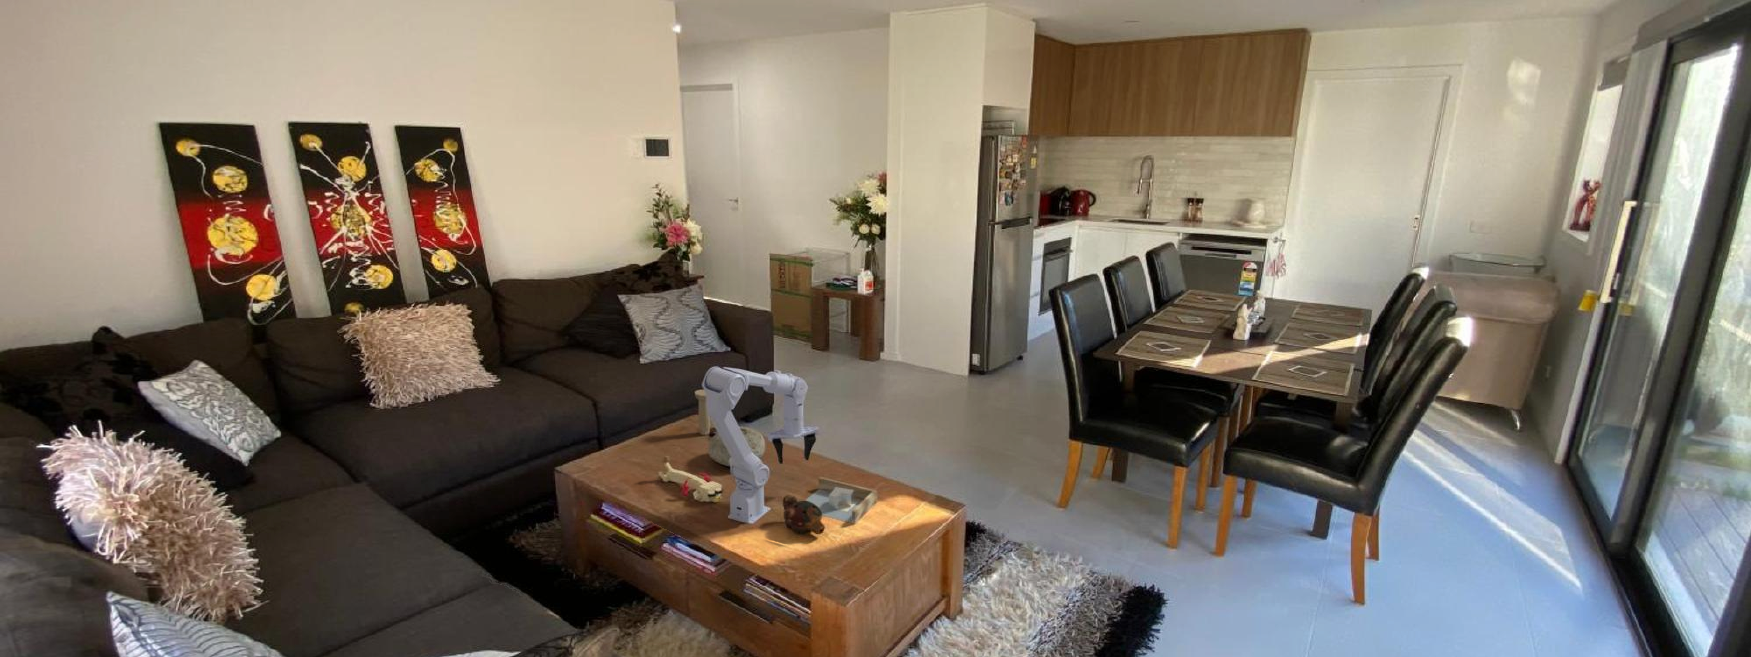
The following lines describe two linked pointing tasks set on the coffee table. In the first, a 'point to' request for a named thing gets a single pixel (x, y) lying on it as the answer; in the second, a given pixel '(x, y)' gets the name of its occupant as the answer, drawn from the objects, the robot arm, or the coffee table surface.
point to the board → (842, 513)
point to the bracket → (841, 498)
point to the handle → (703, 413)
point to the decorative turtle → (802, 515)
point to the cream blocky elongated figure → (692, 483)
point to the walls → (859, 493)
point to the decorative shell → (721, 453)
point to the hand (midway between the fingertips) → (793, 460)
